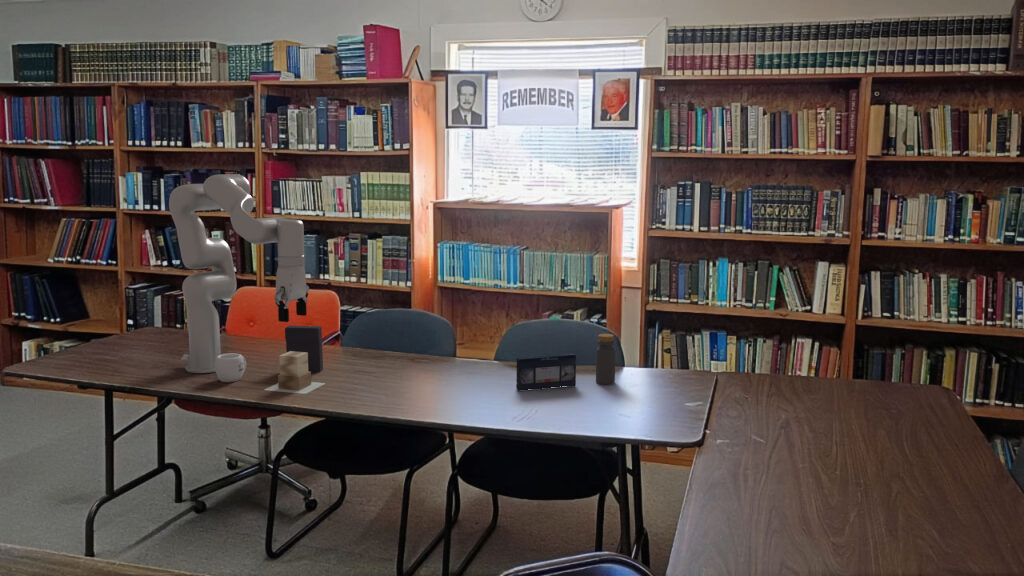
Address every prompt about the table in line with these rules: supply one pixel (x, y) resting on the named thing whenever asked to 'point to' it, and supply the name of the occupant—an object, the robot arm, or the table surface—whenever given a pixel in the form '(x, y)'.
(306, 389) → the board
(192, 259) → the robot arm
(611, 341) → the bottle
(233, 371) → the mug
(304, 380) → the walnut block
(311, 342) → the black upright slab
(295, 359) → the maple cube
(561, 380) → the vhs cassette tape
